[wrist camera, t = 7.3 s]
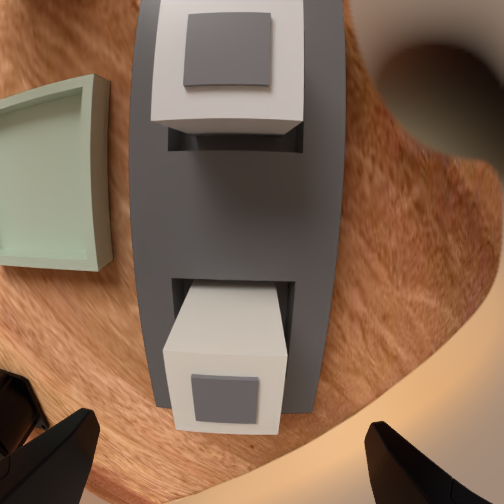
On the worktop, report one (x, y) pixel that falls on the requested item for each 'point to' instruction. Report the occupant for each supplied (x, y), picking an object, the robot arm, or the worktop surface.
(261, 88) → the twin plug
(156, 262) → the strip
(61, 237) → the tray
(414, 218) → the worktop surface
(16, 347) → the worktop surface
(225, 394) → the iec plug
